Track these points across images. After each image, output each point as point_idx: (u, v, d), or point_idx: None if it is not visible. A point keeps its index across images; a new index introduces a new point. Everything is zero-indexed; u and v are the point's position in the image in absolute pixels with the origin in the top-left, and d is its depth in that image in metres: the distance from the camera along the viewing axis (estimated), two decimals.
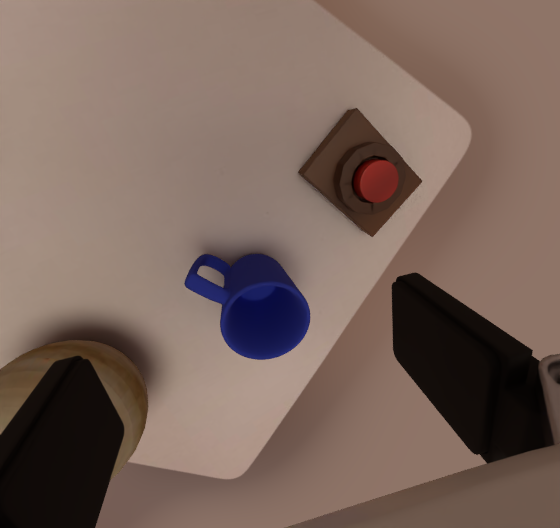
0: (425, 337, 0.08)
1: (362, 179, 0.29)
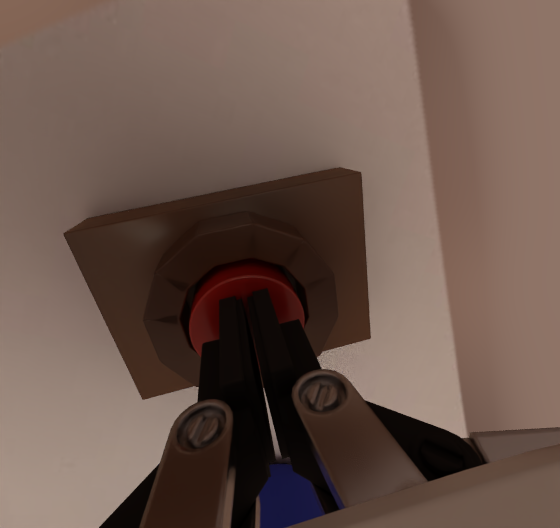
0: None
1: None
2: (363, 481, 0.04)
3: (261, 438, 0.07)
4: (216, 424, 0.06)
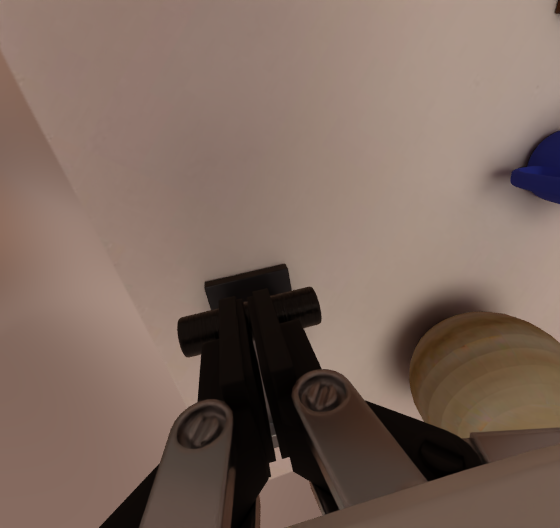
0: None
1: None
2: (363, 481, 0.04)
3: (261, 438, 0.07)
4: (216, 424, 0.06)
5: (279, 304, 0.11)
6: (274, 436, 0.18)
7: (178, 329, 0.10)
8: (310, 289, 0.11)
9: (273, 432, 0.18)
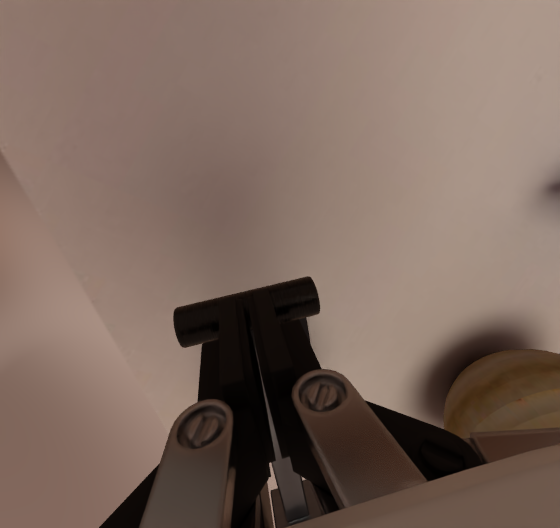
0: None
1: None
2: (363, 481, 0.04)
3: (261, 438, 0.07)
4: (216, 424, 0.06)
5: (275, 286, 0.11)
6: None
7: (174, 311, 0.11)
8: None
9: None
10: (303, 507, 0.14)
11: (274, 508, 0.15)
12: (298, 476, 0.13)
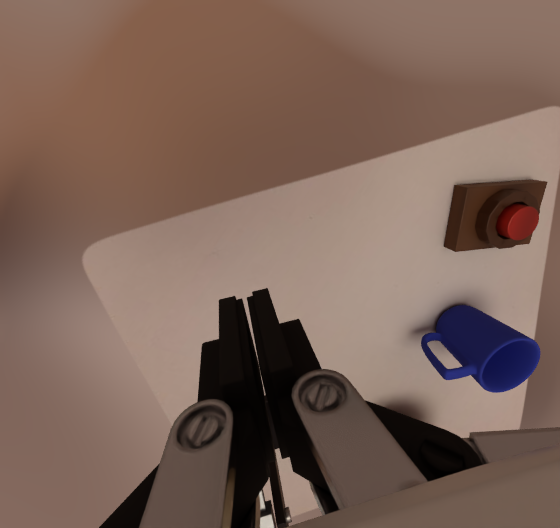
0: None
1: (509, 232, 0.35)
2: (363, 481, 0.04)
3: (261, 438, 0.07)
4: (216, 424, 0.06)
5: None
6: None
7: None
8: None
9: None
10: (263, 505, 0.34)
11: None
12: None
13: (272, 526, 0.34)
